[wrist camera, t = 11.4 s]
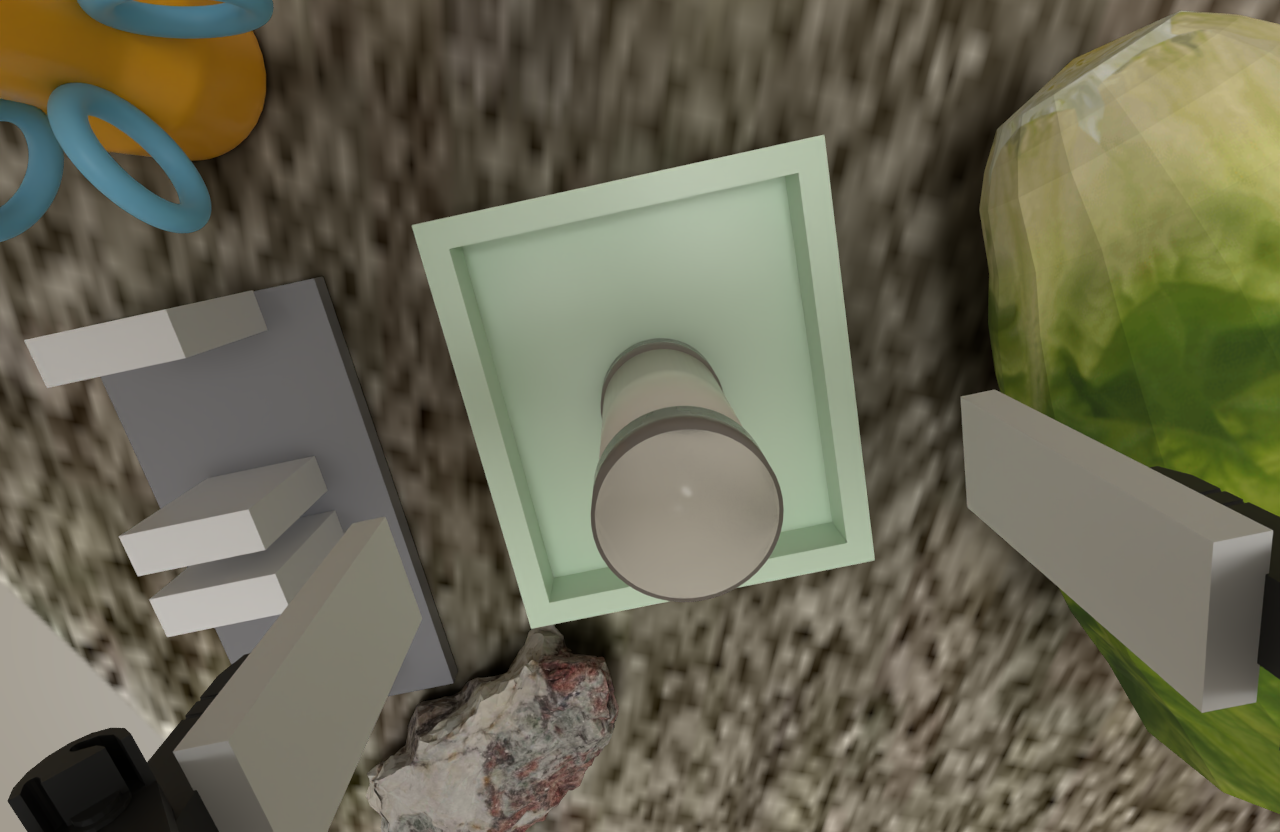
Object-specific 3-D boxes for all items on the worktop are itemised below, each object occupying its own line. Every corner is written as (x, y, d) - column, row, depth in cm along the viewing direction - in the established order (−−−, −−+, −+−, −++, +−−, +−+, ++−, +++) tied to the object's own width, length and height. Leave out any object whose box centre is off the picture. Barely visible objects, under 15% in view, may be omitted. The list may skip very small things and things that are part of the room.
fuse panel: (94, 324, 26) (-50, 356, 20) (322, 274, 26) (240, 292, 20) (266, 709, 31) (190, 818, 26) (457, 671, 31) (422, 772, 25)
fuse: (590, 351, 26) (570, 447, 16) (707, 326, 26) (768, 406, 15) (615, 461, 27) (613, 618, 17) (727, 438, 27) (796, 581, 17)
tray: (430, 223, 25) (411, 225, 23) (804, 141, 25) (824, 134, 22) (538, 595, 30) (531, 628, 27) (853, 531, 29) (874, 560, 27)
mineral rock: (433, 852, 34) (407, 943, 30) (324, 748, 32) (280, 830, 28) (678, 707, 32) (688, 783, 28) (579, 586, 30) (573, 648, 26)
